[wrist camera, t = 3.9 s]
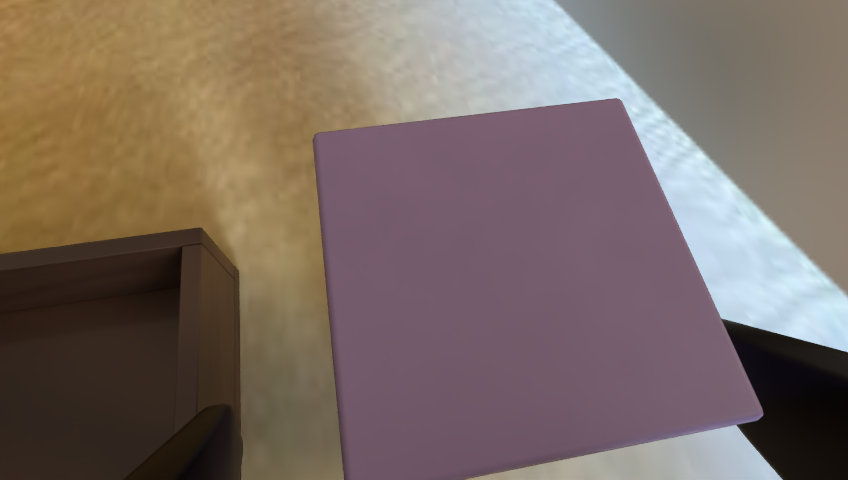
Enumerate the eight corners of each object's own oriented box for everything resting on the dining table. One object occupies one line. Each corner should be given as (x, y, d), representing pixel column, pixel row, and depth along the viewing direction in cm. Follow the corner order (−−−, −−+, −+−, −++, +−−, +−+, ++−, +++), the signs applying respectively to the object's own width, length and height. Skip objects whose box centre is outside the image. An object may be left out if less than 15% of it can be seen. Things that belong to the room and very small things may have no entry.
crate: (242, 623, 14) (189, 675, 10) (-188, 719, 13) (-411, 814, 9) (239, 270, 18) (201, 226, 15) (-76, 316, 17) (-194, 279, 14)
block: (511, 452, 16) (771, 418, 5) (388, 476, 16) (345, 502, 4) (483, 332, 18) (621, 94, 6) (372, 350, 17) (310, 130, 6)
